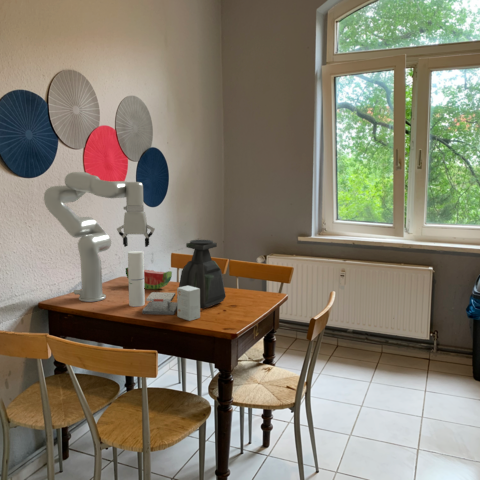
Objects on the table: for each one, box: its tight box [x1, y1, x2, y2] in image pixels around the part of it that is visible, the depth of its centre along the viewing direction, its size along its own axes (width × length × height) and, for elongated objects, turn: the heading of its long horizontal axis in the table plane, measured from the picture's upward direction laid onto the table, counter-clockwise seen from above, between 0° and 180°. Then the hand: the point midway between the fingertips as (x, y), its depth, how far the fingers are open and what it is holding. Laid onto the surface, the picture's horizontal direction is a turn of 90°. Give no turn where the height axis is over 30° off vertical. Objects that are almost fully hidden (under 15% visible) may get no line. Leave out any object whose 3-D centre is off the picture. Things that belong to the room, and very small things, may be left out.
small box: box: [176, 286, 201, 322], centre depth 196 cm, size 8×6×13 cm
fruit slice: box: [125, 267, 173, 290], centre depth 245 cm, size 26×6×10 cm, turn 65°
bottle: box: [178, 239, 227, 310], centre depth 215 cm, size 18×16×30 cm
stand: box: [141, 291, 177, 316], centre depth 207 cm, size 14×14×6 cm
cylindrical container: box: [127, 250, 146, 308], centre depth 213 cm, size 7×7×25 cm
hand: (136, 246), depth 210 cm, fingers open, 9 cm apart
